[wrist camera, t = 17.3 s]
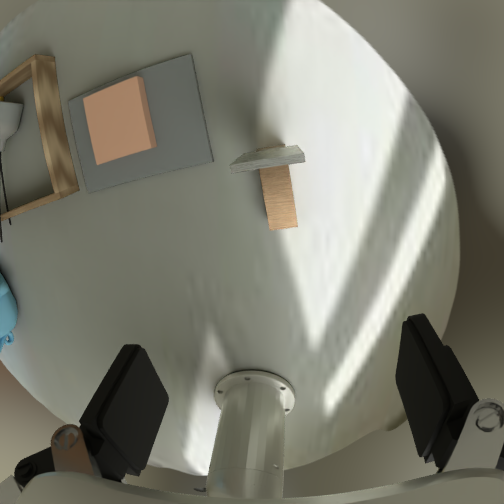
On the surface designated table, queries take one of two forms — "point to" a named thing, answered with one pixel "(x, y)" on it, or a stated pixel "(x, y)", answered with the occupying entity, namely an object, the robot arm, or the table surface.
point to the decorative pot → (7, 313)
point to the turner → (274, 181)
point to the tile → (119, 120)
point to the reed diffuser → (7, 132)
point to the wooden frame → (45, 127)
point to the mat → (164, 125)
